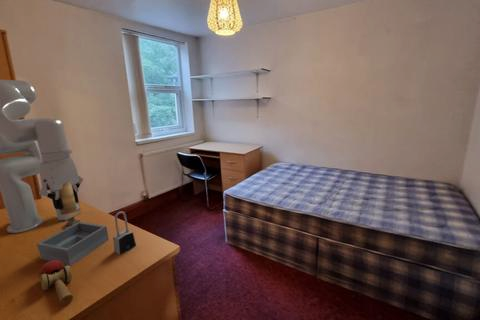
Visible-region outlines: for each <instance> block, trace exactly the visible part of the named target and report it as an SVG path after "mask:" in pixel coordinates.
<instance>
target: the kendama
mask: <svg viewBox="0 0 480 320" xmlns="http://www.w3.org/2000/svg"><path fill="white" fill-rule="evenodd" d="M39 276H40V286H41V289H42V291H46V290H48V289H49V288H50V287H51V285H53V284H54V287H55V291H56V295H57V297H58V302H59V305H60V306H67V305H68V304H70V303H71V302H72V301H73V299H74V295H73V294H72V293H71V291H70V290H69V289H68V287H67V286H66V284H65V283H69V282H71V281H72V278H73V273H72V269H71V266H69V265H64V264H63V263H62V262H61V261H58V260H53V261H48V262H46V263H45V264H44V265H43V266H42V267H41V268H40V271H39Z"/></svg>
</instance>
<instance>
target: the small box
mask: <svg viewBox="0 0 480 320" xmlns="http://www.w3.org/2000/svg"><path fill="white" fill-rule="evenodd" d="M78 201H79V202H78V203H76V207H77V210H76V211H75V212H73V213H70V214H64V215H63V214H60V211H59V209H55V212H56V218H57V220H58V221H68V218H72V217H74V218H75V217H77V216H78V215H80V213H81V214H82V211H81V210H82V209H81V206H80V200H79V199H78Z"/></svg>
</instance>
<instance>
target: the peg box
mask: <svg viewBox="0 0 480 320" xmlns="http://www.w3.org/2000/svg"><path fill="white" fill-rule="evenodd" d="M108 233H109V232H108V228H107V225H102V224H95V223H90V222H85V221H84V222H83V221H81V222H77V223H76V224H74V225H72V226H70V227H68V228H66V229H62V230H61V231H59V232H57V233H55V234H54V235H52V236H50V237H48V238H45V239H44V240H41V241H40V242H38V243H37V244H36V246H37V250H38V253H39V257H40V259H41V260H44V261H48V262H50V261H53V260H58V261H61V262H62V263H63V264H64V266H67V265H69V266H70V267H71V266H73V265H74V264H76V263H77V262H79V261H80V260H81V259H83V258H84V257H86V256H88V255H89V254H90V253H92V252H93V251H95V250H96V249H98V248H99V247H100V246H102V245H103V244H105V243H106V242H107V241H109V234H108Z"/></svg>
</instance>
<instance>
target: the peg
mask: <svg viewBox="0 0 480 320" xmlns="http://www.w3.org/2000/svg"><path fill="white" fill-rule="evenodd" d="M59 198H60V199H61V200H62V204H63V209H62V210H59V211H60V214H63V215H64V214H70V213H73V212H75V211H76V210H77V207H76V202H75V198H74V193H73V189H72V185H71V183H70V182H68V183H65V184H63V189H61V190H60V191H59Z"/></svg>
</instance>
